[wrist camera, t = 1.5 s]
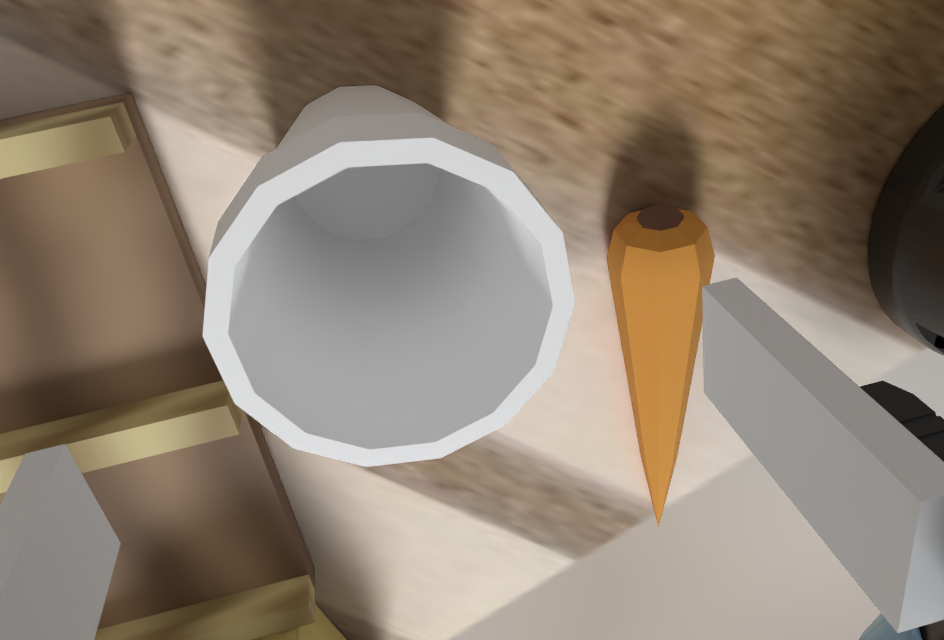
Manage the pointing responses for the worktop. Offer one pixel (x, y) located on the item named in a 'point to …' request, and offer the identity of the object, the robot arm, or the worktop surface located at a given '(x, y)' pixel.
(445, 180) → the foam cup
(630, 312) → the carrot
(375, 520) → the worktop surface
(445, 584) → the worktop surface
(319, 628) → the cheese
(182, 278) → the rack
